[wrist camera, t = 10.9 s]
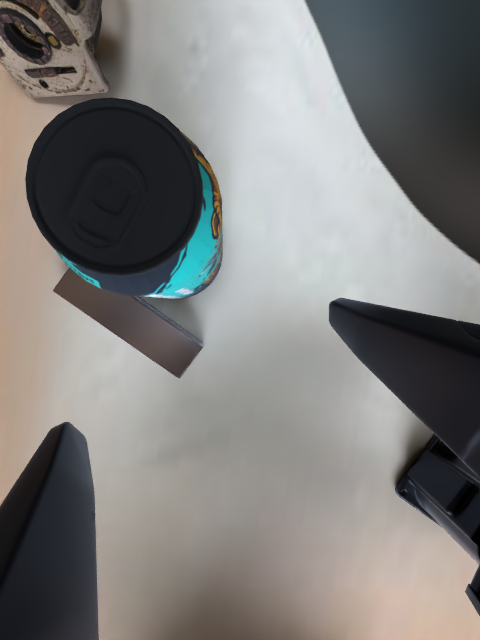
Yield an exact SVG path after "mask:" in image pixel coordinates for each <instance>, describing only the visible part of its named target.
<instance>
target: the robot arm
mask: <svg viewBox="0 0 480 640" xmlns="http://www.w3.org/2000/svg"><path fill="white" fill-rule="evenodd" d="M329 322H330V325H331V326H332V327H333V329H334V330H335V331H336V332H337V334H338V335H339V336H340V337H341V338H342V340H343V341H344V342H345V343H346V345H347V346H348V347H349V348H350V349H351V351H352V352H353V353H354V354H355V355H356V356H357V358H358V359H359V360H360V361H361V362H362V363H363V364H364V365H365V366H366V367H367V368H368V369H369V370H370V371H371V372H372V373H374V374H375V375H376V376H377V377H378V378H379V379H380V380H381V381H382V382H383V383H384V384H385V385H386V386H387V387H388V388H389V389H390V390H391V391H392V392H393V393H394V394H395V395H396V396H397V397H398V398H399V399H400V400H401V401H402V402H403V403H404V404H405V405H406V406H407V407H408V408H409V409H410V410H411V411H412V412H413V413H414V414H415V415H416V416H417V417H418V418H419V419H420V420H421V421H422V422H423V423H424V424H425V425H426V426H427V427H428V428H429V429H430V430H431V431H432V432H433V433H434V434H435V436H434V438H433V439H432V440H431V442H430V443H429V444H428V446H427V447H426V448H425V450H424V451H423V452H422V453H421V455H420V456H419V457H418V459H417V460H416V461H415V463H414V464H413V465H412V467H411V468H410V469H409V470H408V472H407V473H406V474H405V476H404V477H403V478H402V480H401V481H400V482H399V484H398V485H397V486H396V488H395V491H396V493H397V494H398V495H399V496H400V497H401V498H402V499H403V500H405V501H406V502H408V503H409V504H410V505H412V506H413V507H415V508H416V509H417V510H419V511H420V512H422V513H423V514H424V515H426V516H427V517H429V518H430V519H431V520H433V521H434V522H436V523H437V524H438V525H440V526H441V527H443V528H444V529H445V530H446V531H447V532H448V533H449V534H450V535H451V536H452V537H453V538H454V540H455V541H456V542H457V543H458V544H459V545H460V546H461V547H462V548H463V549H464V550H465V551H466V552H467V553H468V554H469V555H470V556H471V557H472V558H473V559H474V560H475V561H476V562H477V563H478V564H479V567H478V569H477V571H476V573H475V575H474V578H473V580H472V582H471V584H468V586H467V588H466V590H465V592H466V594H467V596H468V597H469V599H470V601H471V602H472V604H473V606H474V607H475V609H476V611H477V612H478V614H479V616H480V325H479V324H473V323H468V322H463V321H456V320H453V319H448V318H443V317H437V316H432V315H427V314H422V313H417V312H412V311H407V310H401V309H396V308H391V307H386V306H381V305H376V304H371V303H365V302H360V301H355V300H350V299H345V298H338V299H336V300H334V301H332V302H330V304H329ZM440 440H441V441H440ZM402 490H403V491H402ZM401 491H402V492H401ZM0 640H99V634H98V599H97V563H96V528H95V497H94V486H93V479H92V473H91V466H90V459H89V453H88V446H87V441H86V438H85V437H84V435H83V434H82V433H81V432H80V431H78V430H77V429H76V428H75V427H74V426H73V425H72V424H71V423H69V422H64V423H62V424H60V425H58V426H55V427H53V428H52V429H51V430H50V431H49V432H48V434H47V435H46V437H45V439H44V440H43V442H42V443H41V445H40V446H39V448H38V449H37V451H36V452H35V454H34V455H33V457H32V458H31V460H30V461H29V463H28V464H27V466H26V467H25V469H24V471H23V472H22V474H21V475H20V477H19V478H18V480H17V481H16V483H15V484H14V486H13V487H12V489H11V490H10V492H9V493H8V495H7V496H6V498H5V500H4V501H3V503H2V504H1V506H0Z"/></svg>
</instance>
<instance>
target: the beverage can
mask: <svg viewBox="0 0 480 640" xmlns="http://www.w3.org/2000/svg"><path fill="white" fill-rule="evenodd" d="M26 192H27V200H28V203H29V207H30V210H31V213H32V217H33V219H34V220H35V222H36V224H37V226H38V228H39V230H40V232H41V233H42V235H43V236H44V237H45V238H46V240H47V241H48V242H49V243H50V244H51V246H52V247H53V248H54V249H55V250H56V252H57V253H58V254H59V255H60V257H61V258H62V259H63V260H64V261H65V263H66V264H67V265H68V266H69V267H70V268H71V269H72V270H73V271H75V272H76V273H77V274H78V275H80V276H81V277H82V278H83V279H84V280H86V281H88V282H89V283H91V284H93V285H95V286H97V287H99V288H101V289H103V290H106V291H110V292H113V293H117V294H120V295H131V296H145V297H159V298H174V299H179V298H187V297H190V296H193V295H196V294H197V293H199V292H201V291H202V290H204V289H205V288H206V287H207V286H208V285H209V284H210V283H211V282H212V281H213V280H214V278H215V277H216V275H217V273H218V271H219V268H220V266H221V260H222V199H221V194H220V190H219V186H218V182H217V179H216V177H215V175H214V172H213V170H212V168H211V166H210V164H209V162H208V161H207V160H206V158H205V157H204V155H203V154H202V153H201V151H200V150H199V149H198V147H197V146H196V145H195V144H194V143H193V142H192V141H191V140H190V139H189V138H187V137H186V136H185V135H184V134H183V133H182V132H180V130H179V129H178V128H177V127H176V126H175V125H173V124H172V123H171V122H170V121H169V120H168V119H167V118H166V117H165V116H163V115H161V114H160V113H158V112H156V111H155V110H153V109H152V108H150V107H148V106H145V105H142V104H140V103H137V102H134V101H131V100H125V99H118V98H101V99H92V100H88V101H85V102H82V103H79V104H76V105H73V106H72V107H70V108H68V109H67V110H65V111H63V112H61V113H60V114H58V115H57V116H56V117H55V118H54V119H53V120H52V121H51V122H50V123H49V124H48V125H47V126H46V127H45V128H44V129H43V131H42V132H41V134H40V135H39V137H38V138H37V140H36V141H35V143H34V146H33V148H32V151H31V154H30V156H29V159H28V164H27V171H26Z"/></svg>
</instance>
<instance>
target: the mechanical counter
mask: <svg viewBox="0 0 480 640" xmlns="http://www.w3.org/2000/svg"><path fill="white" fill-rule="evenodd" d="M101 4H102V0H0V63H1V64H2V66H3V67H4V68H5V69H6V70H7V71H8V72H9V74H10V75H11V76H12V77H13V78H14V79H15V81H16V82H17V83H18V84H19V85H20V86H21V87H22V89H23V90H24V91H25V92H26V93H27V94H28V95H29V96H30V97H31V98H40V97H53V96H67V95H85V94H96V93H105V92H107V91H108V90H109V89H110V88H109V83H108V82H107V80H106V79H105V77H104V75H103V73H102V71H101V69H100V68H99V66H98V64H97V62H96V60H95V58H94V56H93V55H94V52H95V48H96V45H97V41H98V38H99V34H100V29H101V21H102V13H101Z"/></svg>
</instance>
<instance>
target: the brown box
mask: <svg viewBox="0 0 480 640" xmlns="http://www.w3.org/2000/svg"><path fill="white" fill-rule="evenodd" d="M53 291H54V292H55V293H57V294H58V295H60V296H61V297H63V298H64V299H65V300H67V301H68V302H70V303H71V304H73V305H74V306H75V307H77V308H78V309H80V310H81V311H83V312H84V313H85V314H87V315H88V316H90V317H91V318H93V319H94V320H96V321H97V322H98V323H100V324H101V325H103V326H104V327H106V328H107V329H108V330H110V331H111V332H113V333H114V334H116V335H117V336H118V337H120V338H121V339H123V340H124V341H126V342H127V343H129V344H130V345H131V346H133V347H134V348H136V349H137V350H139V351H140V352H141V353H143V354H144V355H146V356H147V357H149V358H150V359H151V360H153V361H154V362H156V363H157V364H159V365H160V366H162V367H163V368H164V369H166V370H167V371H169V372H170V373H172V374H173V375H174V376H176V377H177V378H180V377H181V376H182V374H183V373H184V372H185V370H186V369H187V368H188V366H189V365H190V364H191V362H192V361H193V360H194V358H195V357H196V356H197V354H198V353H199V352H200V350H201V349H202V347H203V345H204V344H203V343H202V342H200V341H199V340H198V339H196V338H195V337H193V336H192V335H191V334H189V333H188V332H187V331H185V330H184V329H182V328H181V327H180V326H178V325H177V324H175V323H174V322H173V321H171V320H170V319H168V318H167V317H166V316H164V315H163V314H161V313H160V312H159V311H157V310H156V309H155V308H153V307H152V306H150V305H149V304H148V303H146V302H145V301H143V300H142V299H141V298H139V297H138V296H131V295H120V294H117V293H113V292H110V291H106V290H103V289H101V288H99V287H97V286H95V285H93V284H91V283H89V282H88V281H86V280H84V279H83V278H82V277H81V276H80V275H78V274H77V273H76V272H75V271H73V270H72V269H71V268H69V269H68V270H67V272H66V273H65V275H64V276H63V277H62V279H61V280H60V281H59V283H58V284H57V286H56V287H55V288H54V290H53Z"/></svg>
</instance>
